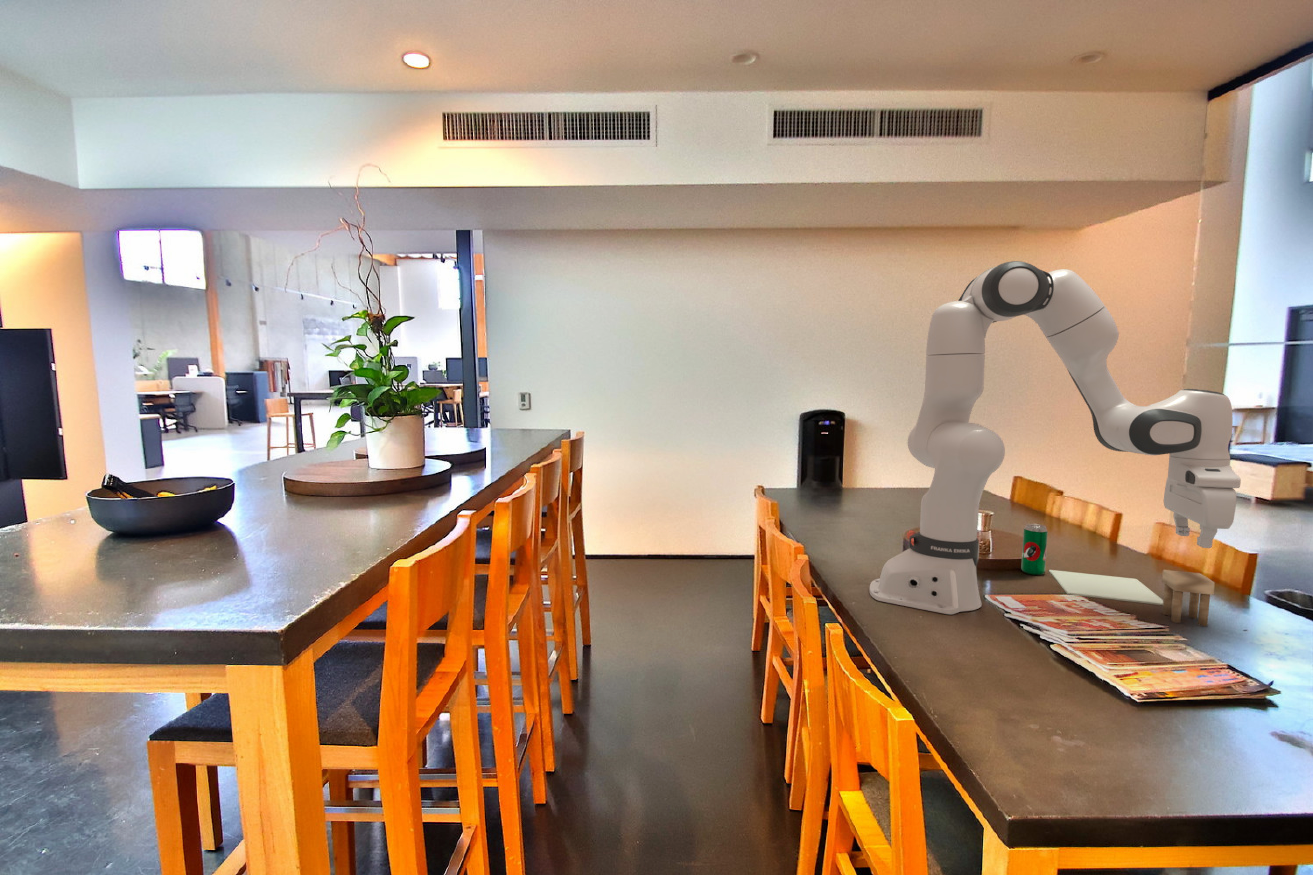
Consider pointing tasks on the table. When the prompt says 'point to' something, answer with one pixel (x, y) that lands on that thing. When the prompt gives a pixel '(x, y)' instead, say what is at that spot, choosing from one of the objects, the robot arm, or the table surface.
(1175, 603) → the stool
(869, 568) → the table surface
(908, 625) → the table surface
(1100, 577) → the mat
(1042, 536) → the soda can
